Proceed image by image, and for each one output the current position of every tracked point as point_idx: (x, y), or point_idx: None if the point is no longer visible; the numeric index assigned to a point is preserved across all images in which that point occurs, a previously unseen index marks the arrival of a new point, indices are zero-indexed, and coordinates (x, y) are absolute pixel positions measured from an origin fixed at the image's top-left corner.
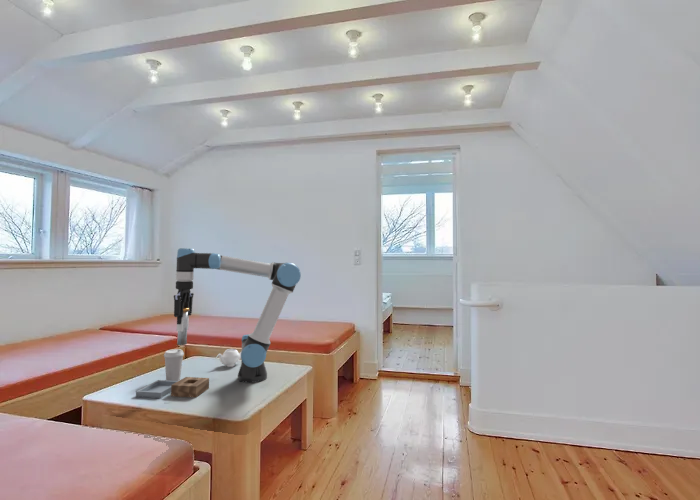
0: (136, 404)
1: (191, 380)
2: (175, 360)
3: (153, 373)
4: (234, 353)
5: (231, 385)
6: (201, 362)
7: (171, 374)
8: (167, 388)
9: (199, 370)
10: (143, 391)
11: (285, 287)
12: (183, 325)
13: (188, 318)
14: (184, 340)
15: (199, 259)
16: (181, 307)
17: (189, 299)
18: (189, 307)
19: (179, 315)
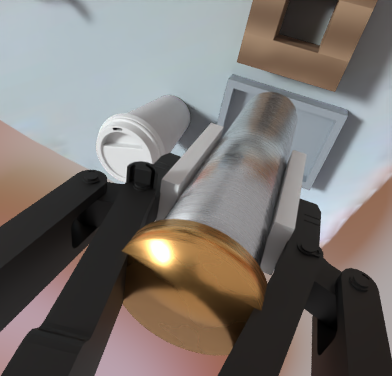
0: (382, 166)
1: (277, 26)
2: (162, 132)
3: (117, 179)
4: None
5: None
6: (3, 69)
7: (182, 125)
8: (304, 105)
9: (75, 53)
10: (315, 171)
11: None
12: (277, 170)
13: (178, 166)
14: (287, 110)
15: None
16: (283, 355)
17: (25, 371)
18: (61, 234)
19: (368, 282)
